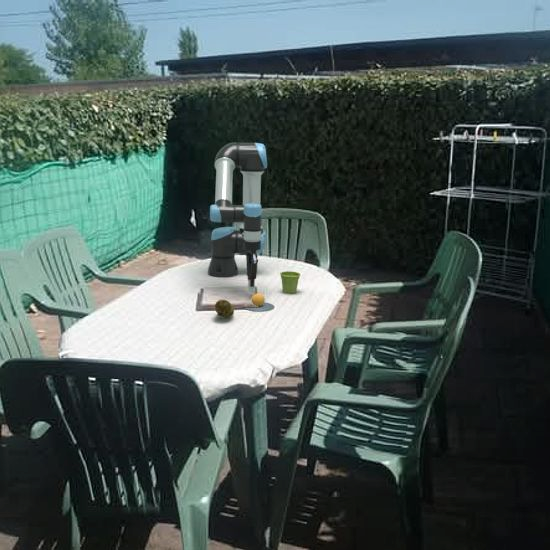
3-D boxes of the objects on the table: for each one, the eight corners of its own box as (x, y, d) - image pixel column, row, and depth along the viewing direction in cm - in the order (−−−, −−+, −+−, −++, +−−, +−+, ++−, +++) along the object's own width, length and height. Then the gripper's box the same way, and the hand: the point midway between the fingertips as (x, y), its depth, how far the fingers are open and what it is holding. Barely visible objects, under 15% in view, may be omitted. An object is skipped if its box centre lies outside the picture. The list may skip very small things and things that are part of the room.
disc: (237, 304, 246) (237, 304, 246) (264, 300, 253) (264, 300, 253) (252, 313, 235) (252, 312, 235) (280, 309, 242) (280, 308, 242)
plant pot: (300, 290, 271) (301, 271, 269) (299, 295, 262) (300, 276, 260) (280, 288, 272) (280, 270, 269) (278, 294, 263) (279, 275, 260)
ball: (249, 307, 244) (248, 295, 246) (261, 308, 247) (260, 295, 248) (255, 304, 240) (254, 291, 241) (267, 304, 242) (266, 291, 244)
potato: (241, 314, 234) (241, 295, 232) (227, 324, 222) (227, 303, 220) (222, 311, 237) (222, 292, 235) (207, 320, 225) (207, 300, 223)
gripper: (240, 237, 256) (239, 289, 262) (246, 243, 244) (246, 297, 249) (257, 237, 258) (256, 288, 264) (264, 242, 246) (263, 296, 251)
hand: (251, 293), depth 256 cm, fingers closed
